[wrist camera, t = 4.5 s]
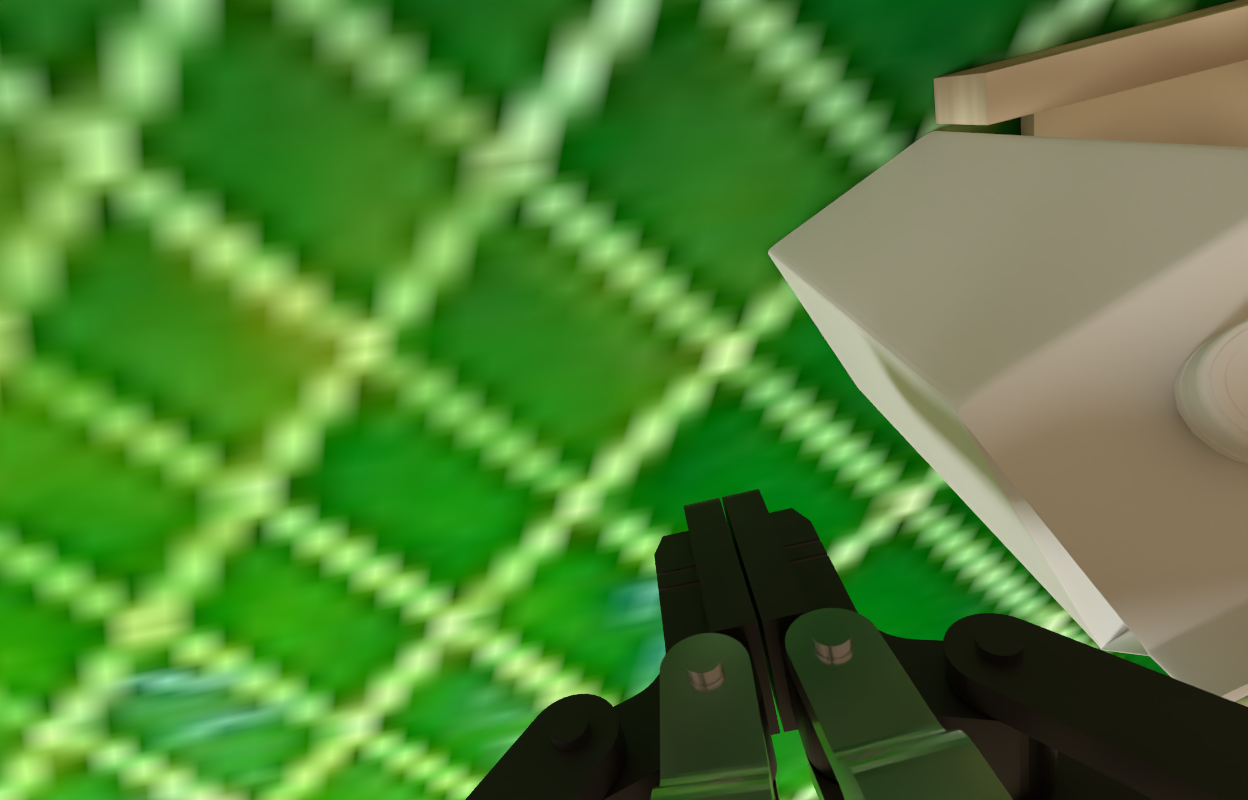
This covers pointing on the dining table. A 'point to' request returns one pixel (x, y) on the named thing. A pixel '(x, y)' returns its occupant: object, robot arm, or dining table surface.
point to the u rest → (1120, 84)
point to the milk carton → (1065, 365)
